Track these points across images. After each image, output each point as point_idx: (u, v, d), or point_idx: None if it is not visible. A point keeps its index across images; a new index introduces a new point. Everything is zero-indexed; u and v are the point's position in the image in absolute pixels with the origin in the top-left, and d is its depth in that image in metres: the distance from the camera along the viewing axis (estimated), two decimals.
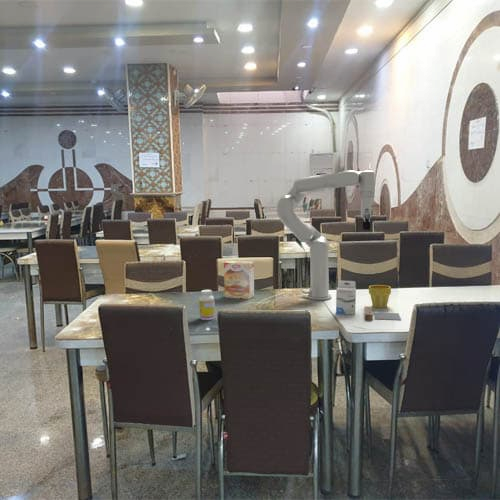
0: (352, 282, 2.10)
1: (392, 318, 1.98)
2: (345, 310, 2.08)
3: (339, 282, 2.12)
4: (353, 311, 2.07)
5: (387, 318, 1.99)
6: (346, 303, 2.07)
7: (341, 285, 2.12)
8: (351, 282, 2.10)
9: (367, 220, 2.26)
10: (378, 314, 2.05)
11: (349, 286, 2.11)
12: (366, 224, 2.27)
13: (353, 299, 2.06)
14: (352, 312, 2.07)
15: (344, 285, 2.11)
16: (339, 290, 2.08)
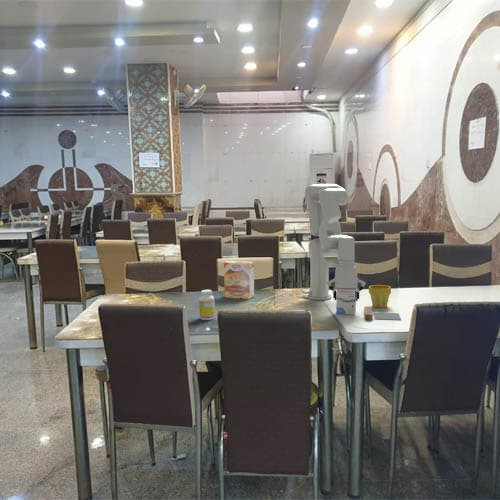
0: None
1: (392, 318, 1.98)
2: (345, 310, 2.08)
3: None
4: (353, 311, 2.07)
5: (387, 318, 1.99)
6: (347, 303, 2.07)
7: None
8: None
9: (360, 290, 2.08)
10: (378, 314, 2.05)
11: None
12: None
13: (353, 299, 2.06)
14: (352, 312, 2.07)
15: None
16: (339, 290, 2.08)
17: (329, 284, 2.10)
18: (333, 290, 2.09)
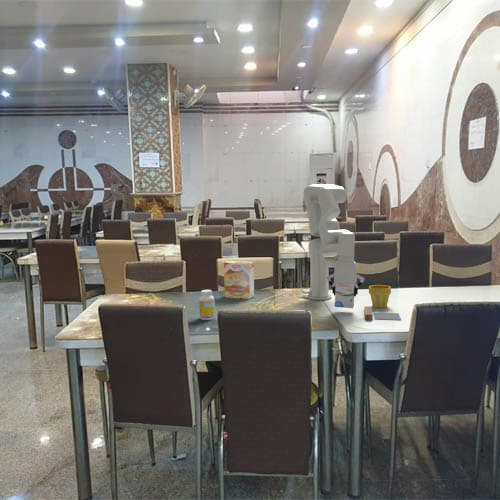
0: None
1: (392, 318, 1.98)
2: (343, 303, 2.09)
3: None
4: (352, 305, 2.08)
5: (387, 318, 1.99)
6: (345, 297, 2.08)
7: None
8: None
9: (359, 285, 2.09)
10: (378, 314, 2.05)
11: None
12: (357, 290, 2.09)
13: (352, 293, 2.07)
14: (351, 306, 2.08)
15: None
16: (338, 284, 2.09)
17: (328, 279, 2.10)
18: (332, 285, 2.10)
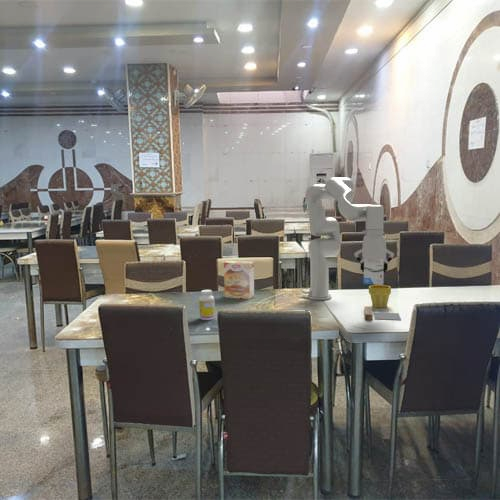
0: None
1: (392, 318, 1.98)
2: (373, 280, 2.00)
3: None
4: (382, 281, 1.99)
5: (387, 318, 1.99)
6: (374, 273, 1.99)
7: None
8: None
9: None
10: (378, 314, 2.05)
11: None
12: None
13: (382, 269, 1.98)
14: (380, 282, 1.99)
15: None
16: (367, 259, 2.00)
17: (356, 255, 2.02)
18: (361, 261, 2.01)
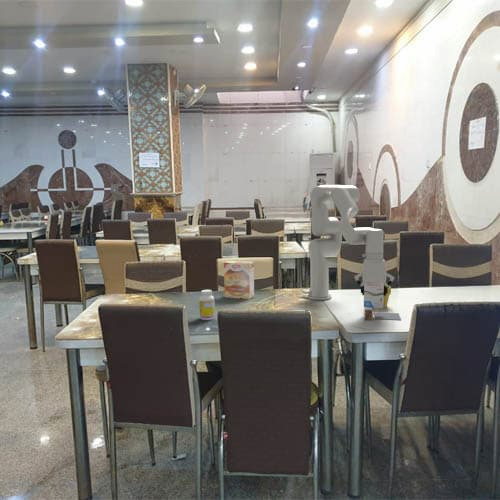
0: None
1: (392, 318, 1.98)
2: (373, 303, 2.01)
3: None
4: (382, 305, 2.00)
5: (387, 318, 1.99)
6: (375, 296, 2.01)
7: None
8: None
9: (388, 284, 2.01)
10: (378, 314, 2.05)
11: None
12: None
13: (382, 292, 1.99)
14: (381, 306, 2.00)
15: None
16: (367, 283, 2.01)
17: (356, 278, 2.03)
18: (361, 285, 2.02)
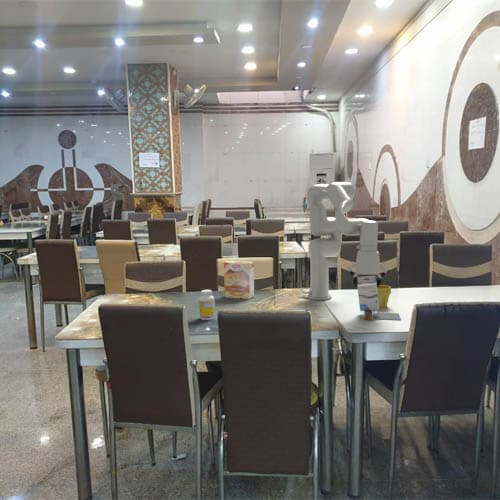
0: (372, 277, 2.05)
1: (392, 318, 1.98)
2: (369, 306, 2.03)
3: (358, 279, 2.07)
4: (377, 306, 2.02)
5: (387, 318, 1.99)
6: (369, 299, 2.02)
7: (361, 281, 2.07)
8: (371, 277, 2.05)
9: None
10: (378, 314, 2.05)
11: (369, 281, 2.06)
12: (380, 280, 2.02)
13: (376, 294, 2.01)
14: (377, 307, 2.02)
15: (364, 281, 2.06)
16: (360, 287, 2.03)
17: (350, 269, 2.04)
18: (354, 275, 2.03)
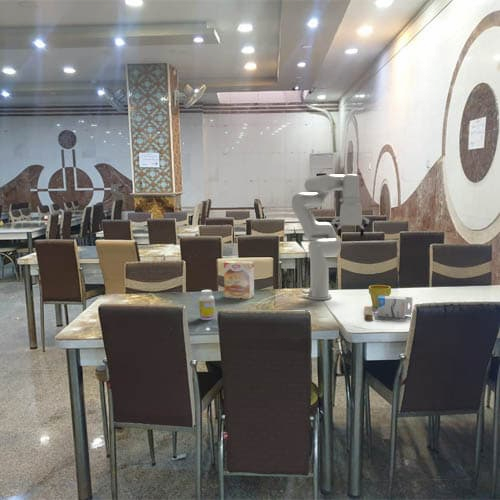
0: (410, 311, 2.03)
1: (392, 318, 1.98)
2: (382, 307, 2.01)
3: (410, 298, 2.02)
4: (381, 315, 2.02)
5: (387, 318, 1.99)
6: (389, 309, 2.00)
7: (406, 300, 2.02)
8: (410, 311, 2.02)
9: None
10: None
11: (405, 308, 2.03)
12: (363, 231, 2.12)
13: (394, 316, 2.00)
14: (380, 314, 2.02)
15: (406, 303, 2.03)
16: (404, 302, 1.98)
17: (334, 222, 2.14)
18: (338, 227, 2.13)
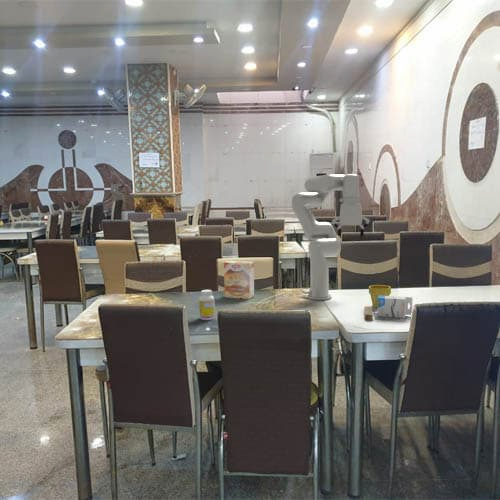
0: (410, 311, 2.03)
1: (392, 318, 1.98)
2: (382, 307, 2.01)
3: (410, 298, 2.02)
4: (381, 315, 2.02)
5: (387, 318, 1.99)
6: (389, 309, 2.00)
7: (406, 300, 2.02)
8: (410, 311, 2.02)
9: None
10: None
11: (405, 308, 2.03)
12: (363, 231, 2.12)
13: (394, 316, 2.00)
14: (380, 314, 2.02)
15: (406, 303, 2.03)
16: (404, 302, 1.98)
17: (334, 222, 2.14)
18: (338, 227, 2.13)
